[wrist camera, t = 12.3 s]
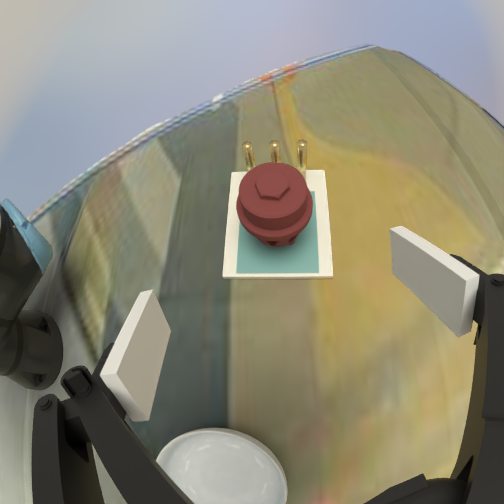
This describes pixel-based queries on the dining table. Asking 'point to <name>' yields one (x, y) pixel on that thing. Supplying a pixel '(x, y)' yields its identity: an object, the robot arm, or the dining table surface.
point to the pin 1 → (249, 155)
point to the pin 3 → (302, 157)
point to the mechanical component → (274, 203)
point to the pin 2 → (275, 151)
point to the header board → (286, 257)
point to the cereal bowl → (224, 468)
